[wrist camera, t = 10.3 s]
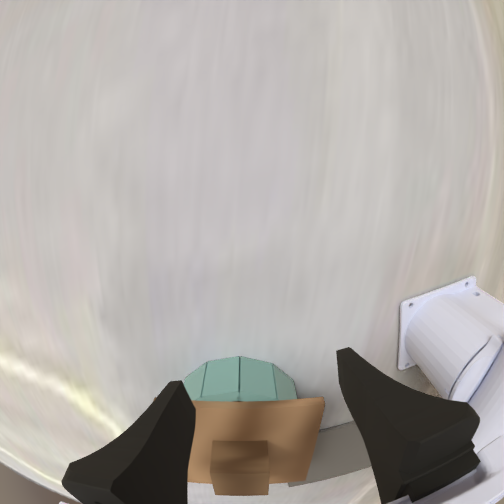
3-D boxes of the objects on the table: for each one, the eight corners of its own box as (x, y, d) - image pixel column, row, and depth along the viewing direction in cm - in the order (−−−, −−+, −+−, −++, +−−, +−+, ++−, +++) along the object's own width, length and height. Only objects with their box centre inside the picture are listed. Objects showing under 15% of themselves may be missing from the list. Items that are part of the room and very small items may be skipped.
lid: (323, 396, 20) (335, 437, 16) (304, 475, 23) (310, 506, 19) (154, 397, 20) (141, 437, 15) (182, 475, 23) (177, 506, 19)
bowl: (286, 346, 24) (293, 380, 19) (302, 424, 26) (308, 455, 22) (165, 367, 24) (153, 399, 20) (203, 438, 27) (199, 469, 23)
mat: (406, 402, 26) (408, 404, 26) (395, 455, 30) (395, 457, 30) (273, 440, 27) (273, 442, 27) (288, 484, 31) (289, 486, 30)
